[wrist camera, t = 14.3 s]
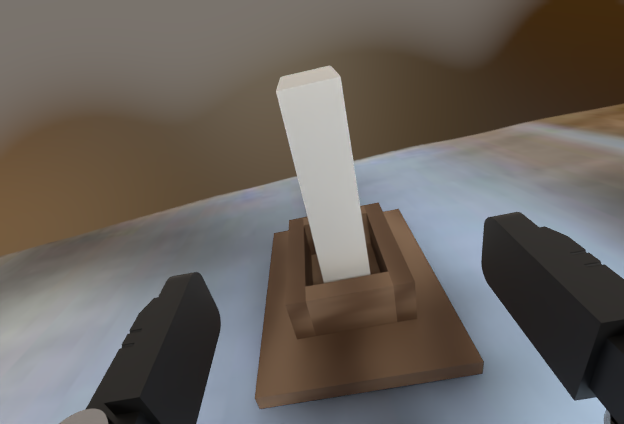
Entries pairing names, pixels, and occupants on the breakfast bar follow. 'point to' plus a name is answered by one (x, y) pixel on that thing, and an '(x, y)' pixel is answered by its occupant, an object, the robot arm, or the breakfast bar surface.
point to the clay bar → (325, 169)
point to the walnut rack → (357, 319)
